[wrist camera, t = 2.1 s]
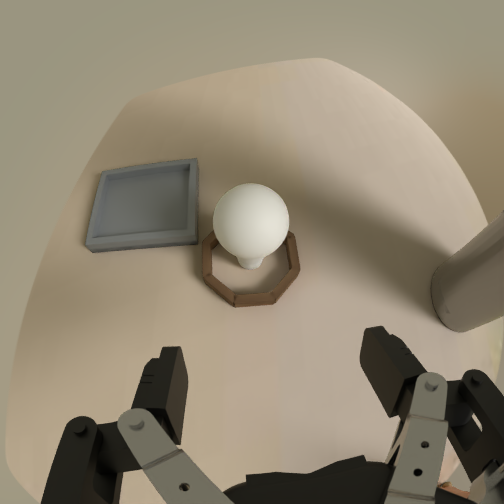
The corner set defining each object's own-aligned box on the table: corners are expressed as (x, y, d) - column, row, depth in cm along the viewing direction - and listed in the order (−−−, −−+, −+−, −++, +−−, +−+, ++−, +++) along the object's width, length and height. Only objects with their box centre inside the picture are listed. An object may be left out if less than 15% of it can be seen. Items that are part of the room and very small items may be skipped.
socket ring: (288, 219, 33) (290, 212, 32) (302, 301, 29) (304, 297, 27) (203, 225, 32) (202, 218, 31) (205, 309, 28) (203, 305, 27)
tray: (198, 168, 36) (196, 158, 34) (197, 244, 31) (194, 235, 30) (107, 180, 36) (102, 171, 34) (92, 252, 31) (85, 245, 29)
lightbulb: (247, 226, 33) (247, 156, 23) (291, 259, 31) (310, 196, 21) (208, 263, 30) (191, 202, 21) (253, 301, 29) (256, 252, 19)
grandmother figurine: (410, 513, 17) (476, 547, 6) (417, 485, 19) (491, 512, 8) (459, 497, 17) (527, 515, 6) (465, 471, 19) (538, 482, 7)
